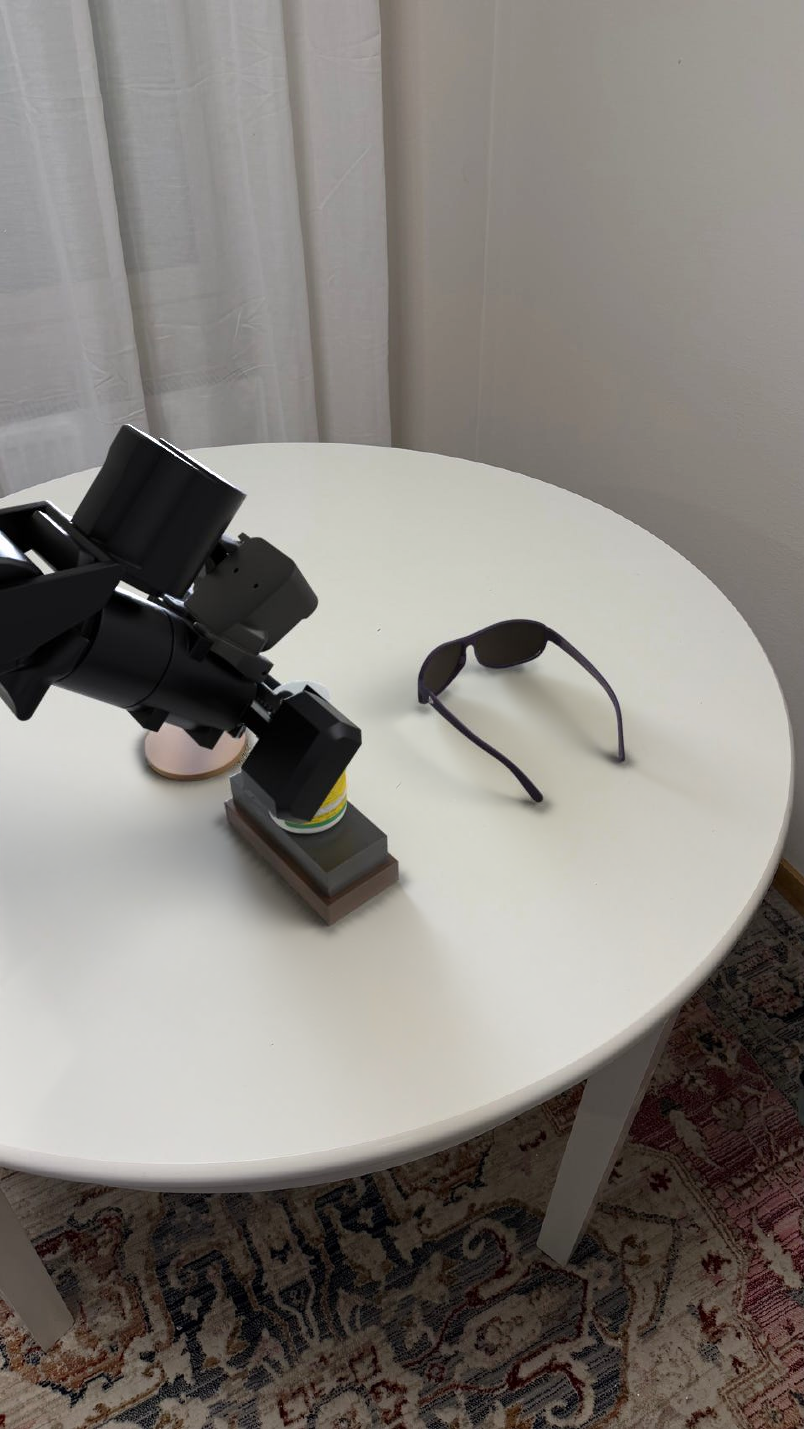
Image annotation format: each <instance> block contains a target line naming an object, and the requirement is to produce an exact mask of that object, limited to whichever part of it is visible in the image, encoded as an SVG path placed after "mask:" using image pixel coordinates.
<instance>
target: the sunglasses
mask: <svg viewBox="0 0 804 1429" xmlns="http://www.w3.org/2000/svg"><path fill="white" fill-rule="evenodd" d="M548 642H550V643H553V645H555V646H557V647H559V648H560V649H561V650H562V651H563V652H565V653H566V654H567V655H569V656H570V657H571V658H572V659H573V660H574V661H575V662H577V663H578V664H579V665H580V666H581V667H582V668H583V669H585V671H586V672H588V673H589V675H591V676H592V677H593V678H594V679H595V681H597V682H598V684H599V685H600V686H601V687H602V688H603V690H604V691H605V692H606V694H607V695H608V697H609V699H610V701H611V703H612V705H613V707H614V711H615V715H616V720H617V721H616V723H617V744H618V759H619V762H622V763H623V762H625V760H626V752H625V741H624V740H625V738H624V728H623V716H622V710H621V705H620V702H619V699H618V696H617V694H616V693H615V692H614V690H613V688H612V687H611V685H610V684H609V682H608V681H607V679H606V678H605V677H604V676H603V674H601V672H600V671H599V670H598V669H597V668H596V666H594V664H593V663H592V662H591V661H590V660H589V659H588V658H587V657H586V656H585V655H584V654H582V653H581V651H579V650H578V649H577V648H576V647H575V646H573V644H571V643H570V642H569V641H568V640H567V639H566V638H564V637H563V636H562V635H561V634H560V633H558V632H557V631H555V630H554V629H553V628H551V627H549V626H547V625H546V624H545V623H542V622H541V621H537V620H533V619H527V618H513V619H507V620H502V621H501V620H500V621H498V622H496V623H493V624H491V625H488V626H485V627H484V628H482V629H479V630H477V631H475V632H473V633H471V634H468V635H465V636H462V637H459V638H456V639H453V640H450V641H446V642H443V643H441V644H439V645H438V646H437V647H435V648H434V649H432V650H431V651H430V653H429V654H428V655H427V656H426V658H425V659H424V661H423V663H422V665H421V666H420V669H419V672H418V676H417V701H418V703H419V704H422V705H427V704H429V705H430V706H431V707H432V708H433V710H435V711H436V712H437V713H438V714H439V715H440V716H442V717H443V718H444V720H446V721H447V722H448V724H450V725H452V727H453V728H455V729H456V730H457V731H458V732H459V733H460V734H462V735H463V736H464V737H465V738H466V739H468V740H469V741H471V743H472V744H475V745H476V746H477V747H478V748H480V749H481V750H482V751H484V752H485V753H487V754H488V755H490V756H491V757H493V758H494V759H495V760H497V761H498V762H499V763H501V764H502V765H503V766H505V768H507V769H508V770H509V771H510V772H511V774H512V775H514V777H515V778H516V779H517V781H519V783H520V785H521V786H522V787H523V789H524V790H525V791H526V793H527V794H528V795H529V797H530V798H531V800H533V801H534V802H535V803H538V804H540V803H542V802H543V801H544V795H543V794H542V791H540V790H539V788H538V787H537V786H536V785H535V783H533V781H531V779H530V778H529V777H528V776H527V775H526V773H524V772H523V771H522V769H521V768H519V766H517V765H516V764H515V763H514V762H513V761H512V760H511V759H509V758H508V757H507V756H505V755H504V754H503V753H501V751H499V750H497V749H496V748H495V747H493V746H492V745H490V744H489V743H488V742H486V741H485V740H483V739H482V738H481V737H479V736H477V735H476V734H475V733H474V732H473V731H472V730H470V729H469V728H468V727H467V726H466V725H465V724H464V722H462V721H461V720H460V719H459V718H458V717H457V716H456V715H454V714H453V713H452V712H451V711H450V710H449V709H448V708H447V707H446V706H445V705H444V704H443V702H441V700H440V699H439V698H438V696H439V695H440V694H442V693H443V692H444V691H445V690H446V689H447V688H448V687H449V686H450V685H451V683H452V682H454V680H455V679H456V677H457V676H458V675H459V674H460V673H461V671H462V670H463V669H464V667H465V666H466V663H467V649H468V647H469V646H470V647H471V646H472V648H473V654H474V657H475V659H476V661H477V663H478V664H479V665H480V666H482V667H484V668H488V669H494V670H495V669H497V670H499V669H507V668H510V667H511V668H512V667H515V666H519V665H524V664H526V663H529V662H532V661H534V660H536V659H538V658H539V657H540V656H541V655H542V654H543V653H544V651H545V649H546V647H547V644H548Z"/></svg>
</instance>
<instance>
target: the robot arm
mask: <svg viewBox="0 0 804 1429" xmlns="http://www.w3.org/2000/svg"><path fill="white" fill-rule="evenodd" d="M247 497H248V494H247V493H245V492H244V491H242V490H241V489H240V488H238V487H237V486H235V485H234V484H232V483H231V482H229V481H227V480H226V479H225V478H223V477H222V476H220V475H219V474H217V473H216V472H214V471H212V470H211V469H209V467H207V466H205V465H203V464H202V463H201V462H199V461H197V460H196V459H194V458H193V457H191V456H190V455H188V454H186V453H185V452H184V451H182V450H180V449H179V448H177V447H176V446H174V445H172V444H170V443H169V442H168V441H166V440H165V439H163V438H161V437H160V438H159V439H158V440H157V439H156V438H153V437H152V436H150V435H149V434H147V433H145V432H143V431H141V430H139V429H137V428H136V427H134V426H132V425H131V424H129V423H125V424H123V425H121V427H120V428H119V430H118V432H117V433H116V435H115V437H114V439H113V440H112V442H111V444H110V445H109V448H108V451H107V454H106V457H105V460H104V462H103V465H102V467H100V470H99V472H98V473H97V475H96V476H95V478H94V479H93V481H92V482H91V485H90V487H89V488H88V490H87V492H86V494H84V497H83V498H82V500H81V501H80V503H79V505H78V507H77V508H76V510H75V512H74V514H72V516H70V515H68V514H67V513H63V512H62V511H61V510H60V509H59V508H58V507H57V506H55V505H54V504H53V503H52V502H51V500H41V501H34V502H30V503H29V502H28V503H24V504H19V505H18V504H17V505H13V506H8V507H3V508H0V699H1V701H3V703H4V704H5V705H6V707H7V708H8V709H9V710H10V712H12V714H13V716H15V718H16V719H17V720H18V721H20V722H28V721H29V720H31V718H32V717H33V715H34V714H35V712H36V711H37V709H38V708H39V705H40V704H41V703H42V701H43V699H44V697H45V696H46V694H47V693H48V691H49V689H51V688H50V687H51V686H53V687H57V688H60V689H63V690H66V691H69V692H71V693H74V694H78V695H81V696H84V697H87V698H89V699H93V700H96V701H99V702H102V703H104V704H108V705H111V706H115V707H117V708H120V709H123V710H125V711H127V713H129V715H130V716H131V717H132V718H133V720H135V722H137V723H138V724H139V725H140V727H141V728H142V729H145V730H148V731H154V732H157V733H158V731H159V730H160V728H161V726H162V725H163V723H164V722H165V723H168V724H171V725H174V726H177V727H180V728H182V729H183V730H184V731H185V732H186V733H187V734H188V735H189V736H190V737H191V738H192V739H193V740H194V741H195V742H196V743H197V744H198V745H199V746H201V747H204V748H207V749H210V750H213V748H214V747H215V745H216V744H217V742H218V740H219V739H220V737H221V736H222V734H223V733H224V731H226V732H227V733H228V734H229V735H230V736H231V737H232V738H234V739H237V740H238V739H240V738H241V737H242V735H243V734H244V732H246V731H247V729H248V730H249V731H250V732H251V733H252V734H253V735H255V738H256V739H257V741H256V743H255V744H254V746H253V747H252V749H251V750H250V752H249V753H248V755H247V756H246V758H245V759H244V761H243V763H242V764H241V766H240V771H241V772H242V779H243V785H244V786H245V787H246V788H247V789H248V790H249V791H250V792H251V793H252V794H253V795H254V796H255V797H256V798H257V799H258V800H259V801H260V802H261V803H262V804H263V805H264V806H265V807H266V808H267V809H268V810H269V811H270V812H271V813H272V814H273V815H274V816H275V817H276V818H277V819H280V820H284V821H288V822H292V823H296V824H303V823H308V822H311V821H312V819H313V818H314V816H315V814H316V813H317V811H318V810H319V808H320V807H321V805H322V804H323V802H324V801H325V799H326V798H327V796H328V795H329V793H330V792H331V790H332V789H333V787H334V786H335V784H336V783H337V781H338V780H339V778H340V777H341V775H342V773H343V772H344V770H345V769H346V770H347V768H348V766H349V764H350V763H351V762H352V760H353V758H354V757H355V756H356V754H357V752H358V751H359V749H360V747H361V746H362V745H363V736H362V734H363V732H362V729H361V728H360V727H359V726H357V724H355V723H354V722H353V721H352V720H350V719H349V718H348V717H347V716H346V715H345V714H343V713H342V712H341V711H340V710H339V709H338V708H336V707H335V706H334V705H333V704H332V705H333V706H332V705H331V704H330V703H329V702H328V701H327V700H325V699H324V698H323V697H322V696H321V695H319V694H318V693H317V692H316V691H315V690H314V689H312V688H311V687H310V686H309V685H308V684H306V686H305V687H304V689H303V691H301V692H299V693H297V694H294V693H293V692H291V691H288V690H282V691H280V692H279V693H277V694H276V693H275V692H273V690H275V689H276V688H277V687H279V686H280V685H283V684H282V683H280V681H278V680H277V679H276V678H275V677H273V676H272V675H270V674H269V673H270V672H271V671H272V669H273V667H274V665H275V664H274V663H273V662H272V661H271V660H269V659H268V658H267V657H266V656H264V655H261V654H260V653H265V652H268V651H270V650H271V649H272V648H274V647H275V646H276V645H277V644H278V643H279V642H280V641H282V639H284V637H286V636H287V634H289V633H290V632H291V631H292V630H293V629H294V628H296V626H297V625H298V624H299V623H300V622H302V620H307V619H308V618H309V617H311V616H312V615H313V614H314V613H315V611H316V610H317V608H318V605H319V598H318V596H317V594H316V593H315V591H314V590H313V588H312V587H311V585H310V583H309V582H308V580H307V579H306V577H305V576H304V575H303V573H302V571H301V570H300V568H299V567H298V565H297V563H296V562H295V561H294V559H292V558H291V557H289V556H288V555H287V554H285V553H284V552H282V551H281V550H280V549H278V547H276V546H274V545H273V544H271V543H270V542H269V541H268V540H266V539H265V538H263V537H260V536H253V537H250V536H249V535H248V534H246V533H245V532H244V531H241V533H239V534H238V535H237V538H238V540H235V539H233V538H232V537H230V536H229V535H226V534H225V532H226V531H227V529H228V527H229V526H230V524H231V522H233V520H234V518H235V516H236V514H237V513H238V511H239V510H240V508H241V507H242V505H243V503H244V501H245V500H246V498H247ZM29 551H32V552H33V553H34V554H35V555H36V556H37V557H38V558H39V559H40V560H42V562H43V563H44V564H45V565H46V566H48V568H50V569H51V570H52V571H53V572H50V573H46V574H44V572H43V571H42V569H41V568H40V567H39V566H38V565H37V564H36V563H35V562H34V561H32V559H31V558H29V556H28V555H27V554H26V553H28V552H29ZM121 582H123V583H125V584H126V585H128V586H130V587H132V588H134V589H136V590H137V591H140V592H142V593H143V594H146V595H147V598H146V599H145V598H143V597H141V596H139V595H136V594H134V593H132V592H130V591H128V590H126V589H123V588H121V587H118V586H119V584H120V583H121ZM192 586H193V587H192ZM268 712H271V713H270V714H269V713H268Z"/></svg>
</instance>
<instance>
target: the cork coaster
mask: <svg viewBox="0 0 804 1429" xmlns="http://www.w3.org/2000/svg"><path fill="white" fill-rule="evenodd" d="M247 739H248V738H247V732H246V731H245V732H244V734H243V735H242V737H241V738H240V739H238V740H237V739H234V738H232V737H231V736H230V735H229V734H228V733H227V732H226V731H224V733H223V734H222V736H221V737H220V739H219V740H218V742H217V744H216V745H215V747H214V748H213V750H210V749H207V748H204V747H201V746H199V745H198V744H197V743H196V742H195V741H194V740H193V739H192V738H191V737H190V736H189V735H188V734H187V733H186V732H185V731H184V730H183V729H182V728H180V727H177V726H174V725H171V724H168V723H165V722H164V723H163V725H162V726H161V728H160V730H159V731H158V733H157V732H154V731H151V730H149V732H148V734H147V735H146V737H145V740H144V745H143V750H144V755H145V759H146V761H147V764H148V765H149V767H150V768H151V769H152V770H153V771H154V772H156V773H157V774H159V775H161V776H163V777H165V778H168V779H171V780H176V781H187V782H188V781H191V782H192V781H200V780H205V779H210V778H212V777H215V776H217V775H220V774H222V773H224V772H226V771H227V770H229V769H230V768H232V767H233V766H234V765H235V764H236V763H238V761H240V759H241V757H242V756H243V755H244V753H245V751H246V747H247V742H248V740H247Z"/></svg>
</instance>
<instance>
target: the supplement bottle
mask: <svg viewBox="0 0 804 1429" xmlns="http://www.w3.org/2000/svg"><path fill="white" fill-rule="evenodd" d="M306 684H308V685H309V686H310V687H311V688H312V689H314V690H315V691H316V692H317V693H318V694H319V695H321V696H322V697H323V698H324V699H325V700H327V701H328V702H329V703H330V704H331V705H332V706H334V704H333V697H332V694H331V692H330V690H329V689H328V688H327V687H326V686H325V685H323V684H321V683H319V682H317V681H313V680H306V679H305V680H304V679H300V680H299V679H298V680H297V679H296V680H291V681H288V682H285V683H283V684H282V685H280V686H279V687H277V688H276V689H275V690H273V692H275V693H276V694H277V693H279V692H280V691H282V690H288V691H291V692H293V693H294V694H297V693H299V692H301V691H303V689H304V687H305V686H306ZM268 713H269V714H270V713H271V712H268ZM347 789H348V788H347V768H346V769H345V770H344V772H343V773H342V775H341V777H340V778H339V780H338V781H337V783H336V784H335V786H334V787H333V789H332V790H331V792H330V793H329V795H328V796H327V798H326V799H325V801H324V802H323V804H322V805H321V807H320V808H319V810H318V811H317V813H316V814H315V816H314V818H313V819H312V821H311V822H308V823H303V824H296V823H292V822H288V821H284V820H280V819H277V818H276V817H275V816H274V815H273V814H272V813H271V812H270V811H269V813H270V815H271V817H272V819H273V820H274V821H275V823H277V824H278V825H279V826H280V827H282V828H284V829H286V830H288V831H291V832H295V833H317V832H321V831H324V830H326V829H328V828H330V827H332V826H333V825H335V824H336V823H337V822H338V821H339V820H340V819H341V818H342V816H343V815H344V812H345V810H346V806H347V800H348V793H347V792H348V791H347Z"/></svg>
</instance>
